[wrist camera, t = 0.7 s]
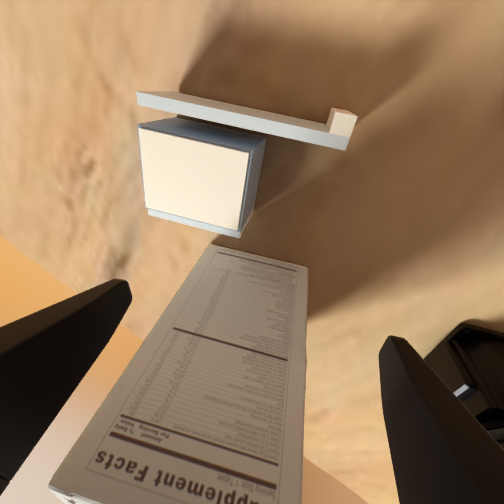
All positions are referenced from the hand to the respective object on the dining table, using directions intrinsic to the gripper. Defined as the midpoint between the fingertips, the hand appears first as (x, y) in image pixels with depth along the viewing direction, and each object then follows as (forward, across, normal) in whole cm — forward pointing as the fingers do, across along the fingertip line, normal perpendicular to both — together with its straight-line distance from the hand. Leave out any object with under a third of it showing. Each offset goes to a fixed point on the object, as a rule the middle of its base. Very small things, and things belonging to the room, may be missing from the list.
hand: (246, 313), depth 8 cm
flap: (+12, +3, -6) cm, 13 cm away
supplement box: (+12, +2, +10) cm, 16 cm away
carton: (+12, +5, -2) cm, 13 cm away
